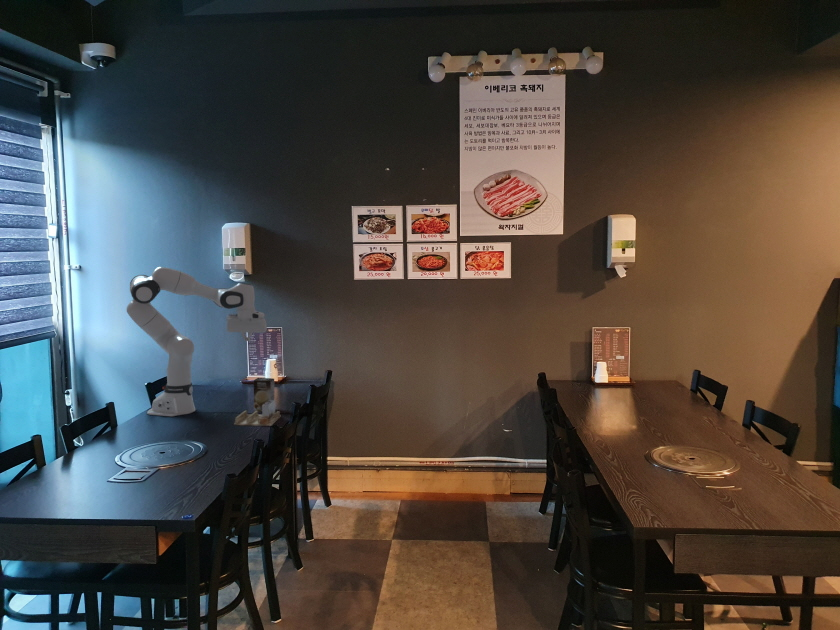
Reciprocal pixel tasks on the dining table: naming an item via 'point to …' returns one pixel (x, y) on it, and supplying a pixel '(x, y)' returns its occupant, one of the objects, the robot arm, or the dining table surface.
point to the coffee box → (263, 392)
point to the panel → (268, 409)
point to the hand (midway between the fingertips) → (247, 340)
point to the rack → (256, 419)
